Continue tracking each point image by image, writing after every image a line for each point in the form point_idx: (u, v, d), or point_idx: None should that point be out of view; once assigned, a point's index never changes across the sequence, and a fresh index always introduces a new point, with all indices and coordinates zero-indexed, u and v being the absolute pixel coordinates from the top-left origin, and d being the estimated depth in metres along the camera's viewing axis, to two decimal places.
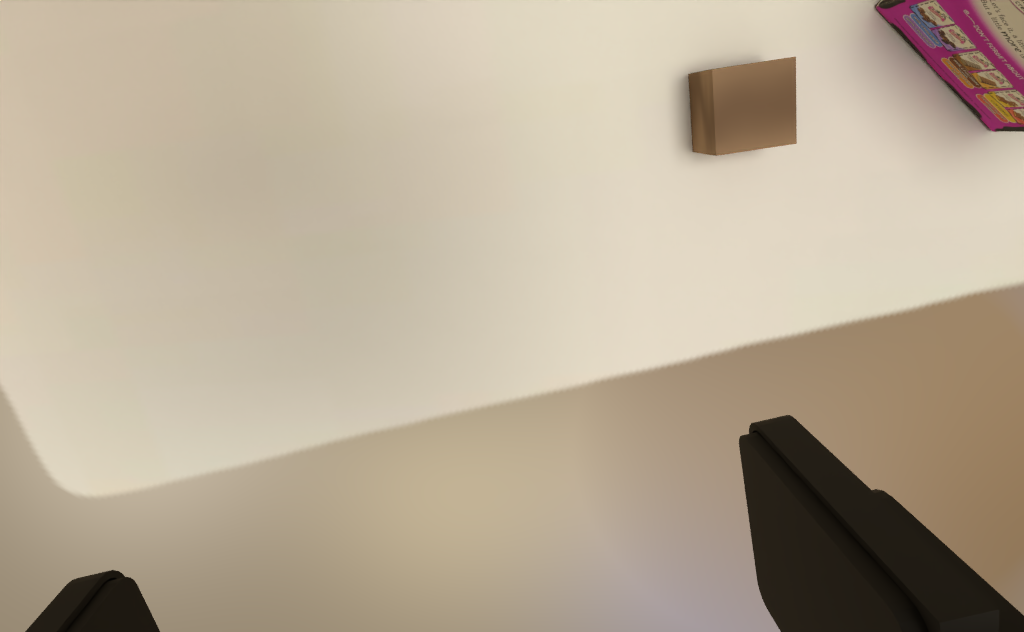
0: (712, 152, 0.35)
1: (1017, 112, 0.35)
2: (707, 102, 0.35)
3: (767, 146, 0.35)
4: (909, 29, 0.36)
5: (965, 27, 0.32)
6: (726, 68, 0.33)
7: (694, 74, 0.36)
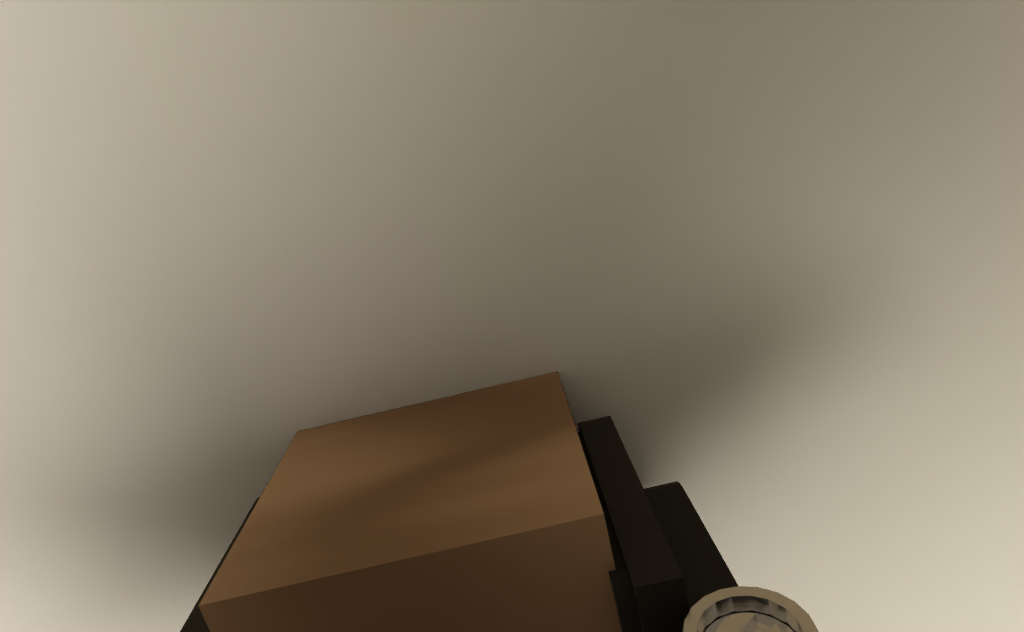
0: (232, 564, 0.07)
1: None
2: (455, 497, 0.08)
3: None
4: None
5: None
6: None
7: (561, 402, 0.09)
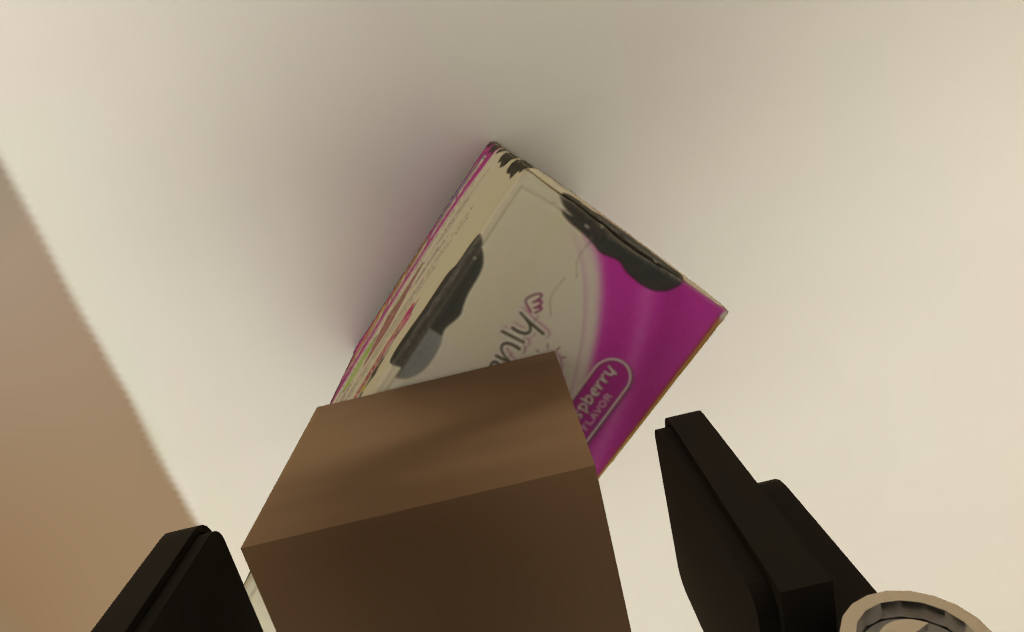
0: (268, 514, 0.08)
1: (362, 344, 0.25)
2: (463, 456, 0.09)
3: None
4: (462, 183, 0.25)
5: (451, 208, 0.22)
6: (601, 518, 0.08)
7: (558, 376, 0.10)
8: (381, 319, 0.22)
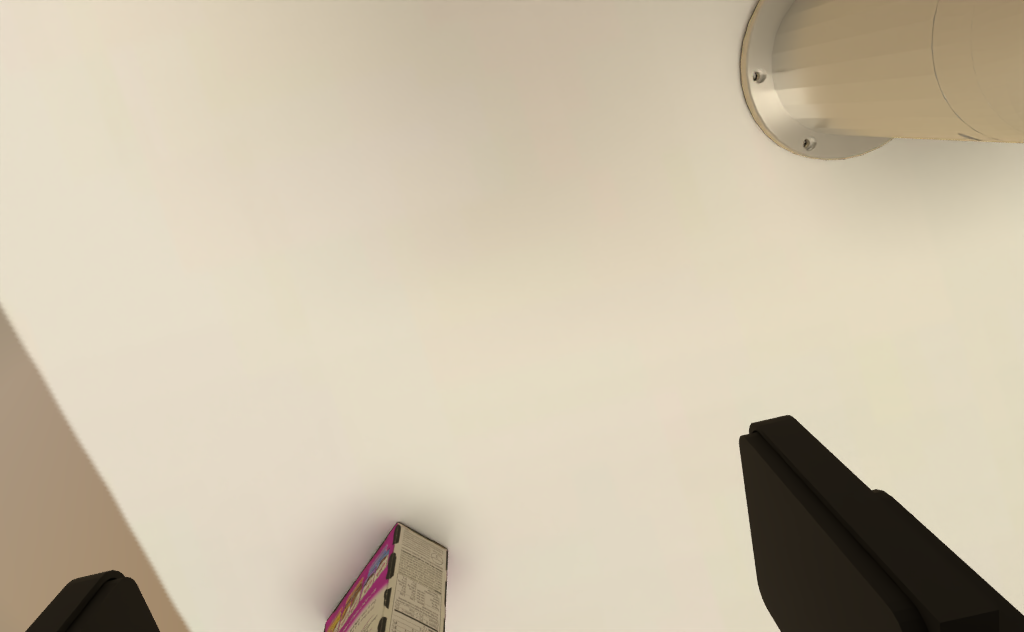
0: None
1: None
2: None
3: None
4: (381, 550, 0.48)
5: (369, 591, 0.44)
6: None
7: None
8: None
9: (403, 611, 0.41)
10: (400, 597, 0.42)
